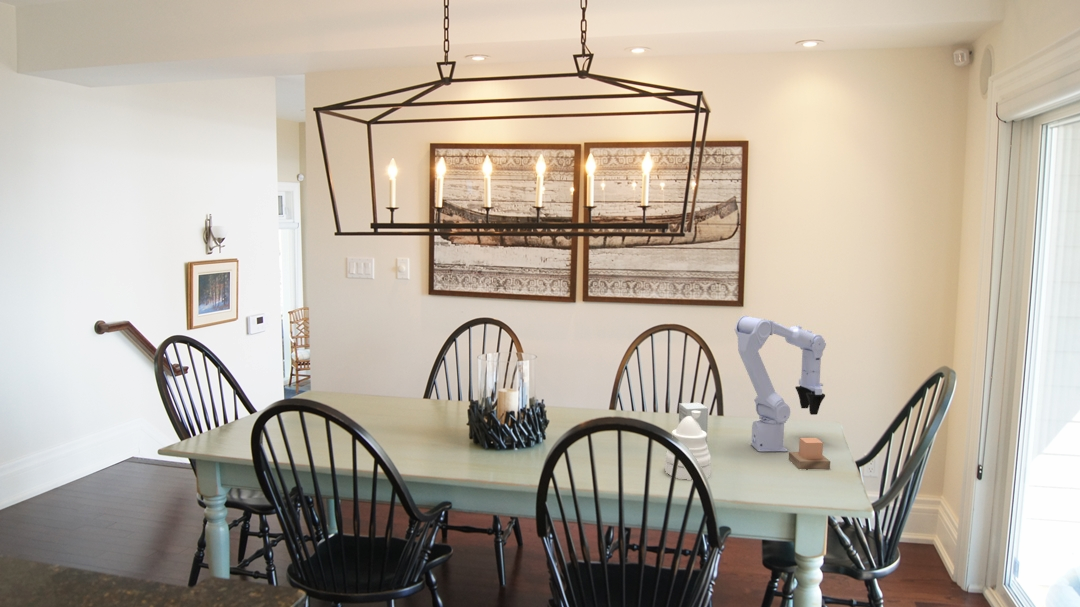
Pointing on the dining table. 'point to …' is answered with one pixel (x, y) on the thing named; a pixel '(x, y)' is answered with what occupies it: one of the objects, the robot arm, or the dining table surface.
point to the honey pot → (690, 446)
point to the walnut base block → (808, 462)
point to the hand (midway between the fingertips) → (809, 411)
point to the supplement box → (687, 409)
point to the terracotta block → (810, 448)
